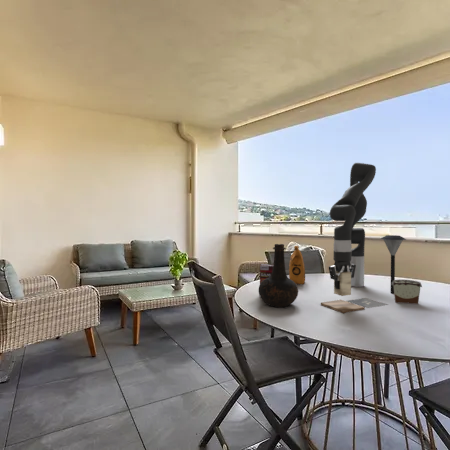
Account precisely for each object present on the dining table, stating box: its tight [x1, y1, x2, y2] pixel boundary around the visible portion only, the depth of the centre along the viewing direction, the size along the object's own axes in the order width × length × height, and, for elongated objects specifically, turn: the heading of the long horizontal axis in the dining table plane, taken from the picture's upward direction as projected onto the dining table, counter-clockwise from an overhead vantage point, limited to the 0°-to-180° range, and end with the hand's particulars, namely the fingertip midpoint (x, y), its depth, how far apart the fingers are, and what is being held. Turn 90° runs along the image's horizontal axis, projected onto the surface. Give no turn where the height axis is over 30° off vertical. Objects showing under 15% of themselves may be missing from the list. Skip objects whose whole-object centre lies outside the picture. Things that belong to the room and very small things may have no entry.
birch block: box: [333, 272, 352, 297], centre depth 143 cm, size 5×5×10 cm
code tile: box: [346, 297, 389, 309], centre depth 150 cm, size 13×13×1 cm
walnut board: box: [320, 299, 366, 314], centre depth 144 cm, size 14×12×1 cm
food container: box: [392, 279, 423, 305], centre depth 151 cm, size 12×6×10 cm, turn 71°
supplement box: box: [259, 263, 273, 284], centre depth 164 cm, size 9×5×16 cm, turn 77°
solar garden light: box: [380, 234, 407, 294], centre depth 168 cm, size 12×12×30 cm
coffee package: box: [288, 245, 306, 285], centre depth 197 cm, size 10×12×22 cm
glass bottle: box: [258, 243, 299, 308], centre depth 149 cm, size 18×18×28 cm
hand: (342, 288), depth 143 cm, fingers closed on birch block, 5 cm apart
